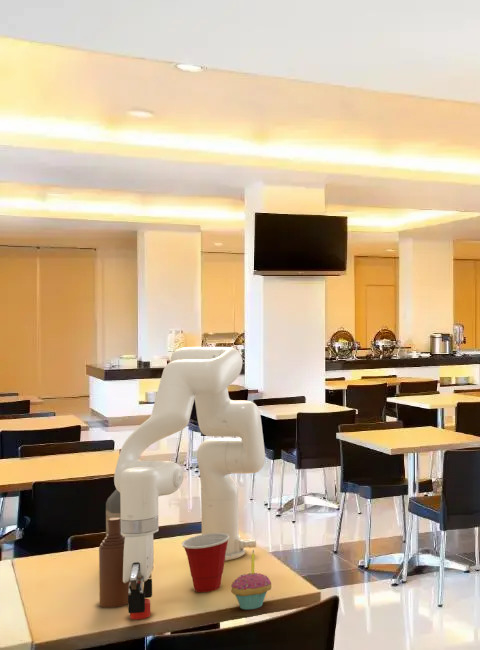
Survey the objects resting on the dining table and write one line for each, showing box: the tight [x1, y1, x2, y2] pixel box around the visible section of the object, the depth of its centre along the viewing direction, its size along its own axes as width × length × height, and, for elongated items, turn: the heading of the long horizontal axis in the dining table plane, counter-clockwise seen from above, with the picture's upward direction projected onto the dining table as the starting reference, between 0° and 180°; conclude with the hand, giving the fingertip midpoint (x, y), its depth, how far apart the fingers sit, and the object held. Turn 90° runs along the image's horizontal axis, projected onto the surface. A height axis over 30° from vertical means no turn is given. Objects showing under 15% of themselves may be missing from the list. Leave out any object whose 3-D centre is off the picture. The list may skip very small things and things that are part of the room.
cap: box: [129, 598, 152, 620], centre depth 187 cm, size 4×4×3 cm
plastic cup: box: [181, 533, 230, 593], centre depth 206 cm, size 11×11×12 cm
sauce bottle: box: [98, 517, 130, 609], centre depth 197 cm, size 6×6×19 cm
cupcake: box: [230, 549, 272, 611], centre depth 193 cm, size 9×8×12 cm
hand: (140, 604), depth 188 cm, fingers open, 9 cm apart
